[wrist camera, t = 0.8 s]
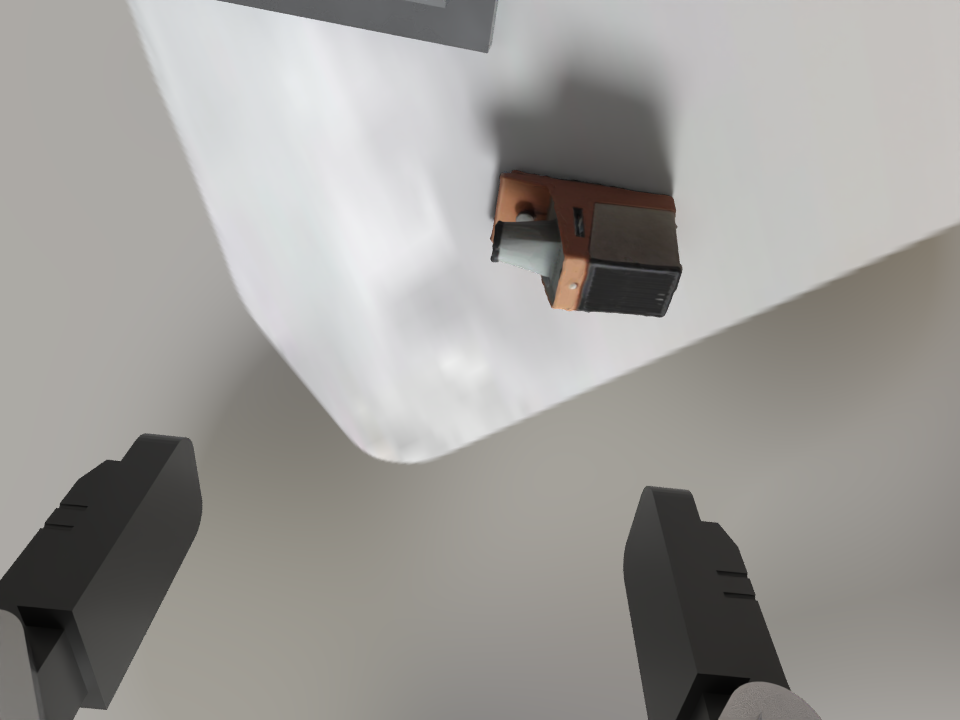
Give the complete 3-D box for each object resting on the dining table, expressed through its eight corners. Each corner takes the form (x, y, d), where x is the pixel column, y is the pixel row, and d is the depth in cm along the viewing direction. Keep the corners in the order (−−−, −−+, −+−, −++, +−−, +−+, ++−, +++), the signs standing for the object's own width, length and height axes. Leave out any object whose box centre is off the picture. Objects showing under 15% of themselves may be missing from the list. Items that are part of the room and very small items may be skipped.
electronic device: (502, 162, 37) (486, 230, 32) (677, 191, 37) (694, 264, 31) (491, 233, 40) (475, 307, 34) (654, 260, 40) (665, 339, 34)
